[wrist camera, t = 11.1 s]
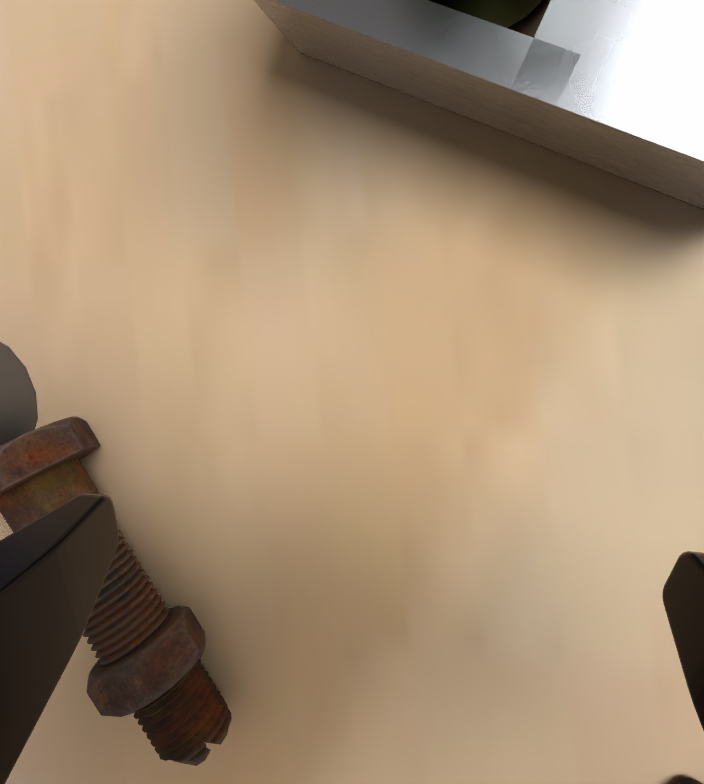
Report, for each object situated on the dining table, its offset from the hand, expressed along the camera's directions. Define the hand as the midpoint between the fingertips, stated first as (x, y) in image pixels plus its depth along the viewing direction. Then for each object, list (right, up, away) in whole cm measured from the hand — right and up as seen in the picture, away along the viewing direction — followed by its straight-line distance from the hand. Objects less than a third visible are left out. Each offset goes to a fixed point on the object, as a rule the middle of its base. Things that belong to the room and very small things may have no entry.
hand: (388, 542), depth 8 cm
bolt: (-10, -6, +16) cm, 20 cm away
